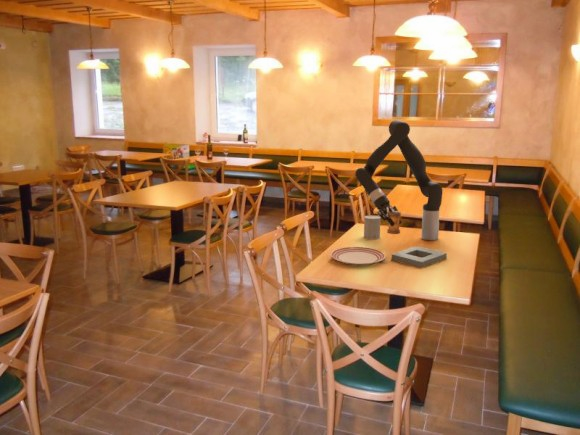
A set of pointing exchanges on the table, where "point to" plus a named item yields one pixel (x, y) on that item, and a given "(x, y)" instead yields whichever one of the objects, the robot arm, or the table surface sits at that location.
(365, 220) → the speckled tan cylinder
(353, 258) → the dinner plate
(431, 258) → the grey rectangular frame
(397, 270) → the table surface
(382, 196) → the robot arm
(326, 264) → the table surface
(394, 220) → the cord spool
